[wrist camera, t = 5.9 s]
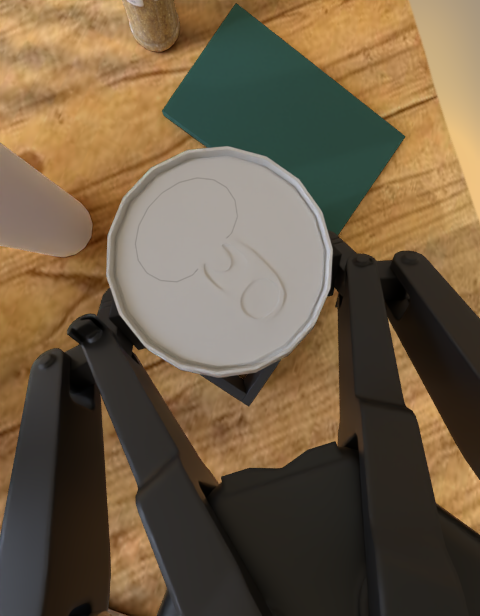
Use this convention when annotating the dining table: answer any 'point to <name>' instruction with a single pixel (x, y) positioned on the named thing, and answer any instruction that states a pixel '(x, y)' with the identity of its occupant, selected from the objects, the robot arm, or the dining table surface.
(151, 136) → the dining table surface
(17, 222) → the white coffee cup
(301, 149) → the mat
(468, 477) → the dining table surface
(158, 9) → the sprinkles bottle
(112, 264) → the supplement can
